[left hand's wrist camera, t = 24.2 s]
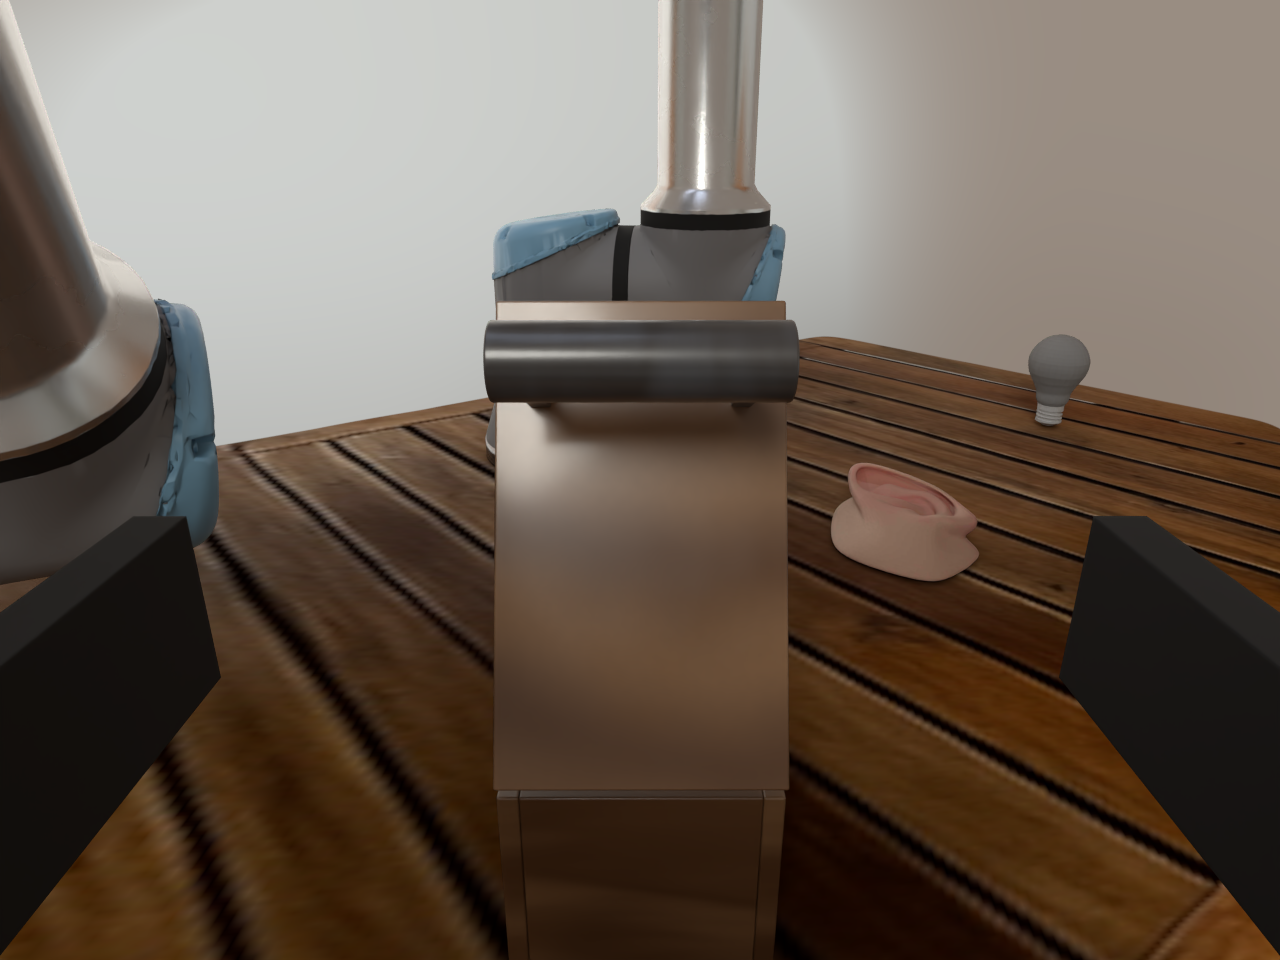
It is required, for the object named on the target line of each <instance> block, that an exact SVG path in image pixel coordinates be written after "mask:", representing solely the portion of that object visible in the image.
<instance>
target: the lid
mask: <svg viewBox="0 0 1280 960" xmlns="http://www.w3.org/2000/svg"><path fill="white" fill-rule="evenodd" d="M483 363H484V378H485V385H486V391H487V394H488V397H489V400H490V401H491V402H493V403H495V548H494V721H493V789H494V790H495V791H571V790H789V677H788V543H787V410H786V403H789V402H792V401H793V399H794V396H795V393H796V389H797V384H798V376H799V338H798V331H797V327H796V324H795V322H794V321H792V320H786V303H785V301H497V302H496V320H491V321H489V322H488V324H487V326H486V330H485V336H484V349H483Z"/></svg>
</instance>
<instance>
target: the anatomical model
mask: <svg viewBox="0 0 1280 960" xmlns="http://www.w3.org/2000/svg"><path fill="white" fill-rule="evenodd" d="M848 484H849V489H850V492H851V495H852V498H850V499H848V500H846V501H844V502H843V503H842V504H840V505H839V506H838V508H837V509H836V511H835V512H834V515H833V518H832V524H831V536H832V541H833V543H834V545H835V547H836V548H837V549H838V550H839V551H840V552H841V553H842V554H844V555H845V556H847V557H849V558H851V559H853V560H855V561H857V562H859V563H862V564H864V565H867V566H870V567H873V568H876V569H879V570H882V571H885V572H888V573H892V574H895V575H899V576H903V577H907V578H911V579H916V580H923V581H940V580H944V579H947V578H949V577H952V576H954V575H956V574H958V573H959V572H961V571H963V570H965V569H966V568H968V567H969V566H970V565H971V564H972V563H973V562H975V561H976V560H977V558H978V556H979V552H978V550H977V549H976V547H975V546H974V545H973V544H972V543H971V542H970V541H969V540H968V539H967V538H966V535H967V534H968V533H970V532H971V531H972V530H974V529H975V527H976V525H977V519H976V517H975V516H974V515H973V514H972V513H971V512H970V511H969V510H968V509H966V508H965V507H964V506H963V505H961V504H960V503H959V502H957V501H956V500H955V499H954V498H952V497H951V496H950V495H948V494H947V493H946V492H944V491H942V490H941V489H939V488H938V487H936V486H934V485H932V484H929V483H927V482H925V481H923V480H920V479H918V478H915V477H913V476H910V475H908V474H905V473H902V472H900V471H897V470H893V469H890V468H887V467H883V466H879V465H875V464H870V463H858V464H855V465H854V466H852V467H851V469H850V471H849V474H848Z"/></svg>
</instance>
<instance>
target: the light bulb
mask: <svg viewBox="0 0 1280 960" xmlns="http://www.w3.org/2000/svg"><path fill="white" fill-rule="evenodd" d="M1028 366H1029V372H1030V375H1031V377H1032V380H1033V382H1034V384H1035V387H1036V399H1037V401H1038V406H1037V408H1038V409H1037V411H1038V412H1036V414H1037V415H1036V417H1035V420H1036V421H1038V422H1040V423H1041V424H1042V425H1046V426H1053V425H1056V424H1059V423H1061V419H1062V417H1061V415H1063V414H1062V413H1061V412H1063V410H1064V406H1065V404H1066V403H1067V402H1068V400H1069V398H1070V394H1071V393H1072V391H1073V390H1074V389H1075V388H1076V386H1077V385H1078V384H1079V383H1080V382H1081V381H1082V380H1083V378H1084V377H1085V376H1086V374H1087V372H1088V370H1089V367H1090V356H1089V353H1088V350H1087V349H1086V347H1085V346H1084V344H1083V343H1082V342H1081V341H1080V340H1078V339H1076V338H1075V337H1072V336H1068V335H1053V336H1050V337H1047V338H1045V339H1044V340H1042V341H1041V342H1040V343H1038V344H1037V345H1036V346H1035V348H1034V349H1033V350H1032V352H1031V354H1030V356H1029V364H1028Z"/></svg>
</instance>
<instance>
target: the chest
mask: <svg viewBox="0 0 1280 960" xmlns="http://www.w3.org/2000/svg"><path fill="white" fill-rule="evenodd" d="M785 803H786V797H785V793H784V790H571V791H498V794H497V812H498V825H499V838H500V850H501V863H502V876H503V889H504V901H505V914H506V927H507V940H508V952H509V960H773V957H774V944H775V931H776V918H777V905H778V893H779V880H780V867H781V854H782V842H783V829H784V816H785Z"/></svg>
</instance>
